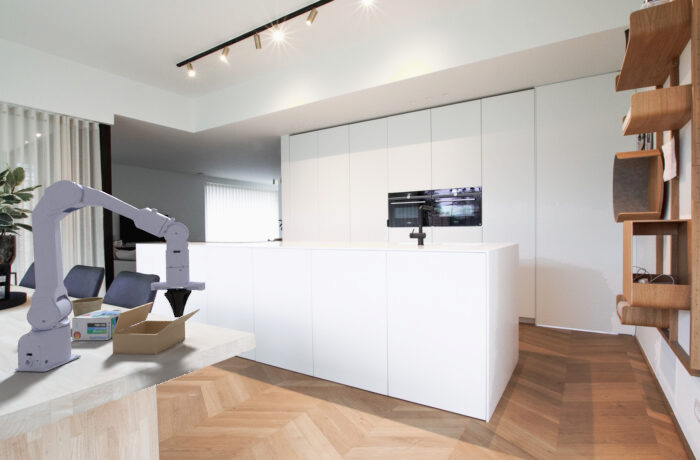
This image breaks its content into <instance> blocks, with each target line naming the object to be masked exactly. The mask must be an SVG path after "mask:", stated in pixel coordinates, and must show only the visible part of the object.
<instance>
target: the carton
mask: <svg viewBox="0 0 700 460" xmlns="http://www.w3.org/2000/svg"><path fill="white" fill-rule="evenodd" d="M172 321H173V320H147V319H146V320H145V321H143V322H140V323H138V324H135V325H133V326H130V327H129V328H126V329H124V330H121V331H119V332H116V333H114V334H112V336H113V337H112V354H130V355H131V354H133V355H136V354H137V355H158V354H160V353H161V352H163V351H165V350H166V349H168V348H170V347H172V346H174V345H175V344H177V343H179V342H182V341H183V340H185V339H186V321H185V322H183V323H181V324H179V325H177V326H175V327H173V328H171V329H169V330H167V331H165V332H163V333H161V334H158V333H159V332H160V331H161V330H163V329H164V328H165V327H166V326H167V325H169V324H170V323H171V322H172ZM157 334H158V335H157Z"/></svg>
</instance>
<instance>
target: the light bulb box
mask: <svg viewBox="0 0 700 460" xmlns="http://www.w3.org/2000/svg"><path fill="white" fill-rule="evenodd" d="M127 310H128V309H101V310H97V311H94V312H91V313H87V314H84V315H81V316H77V317H74V316H73V317H72V318H71V341H108V340H110V339H113V336H112V334H114V333H113V330H114V328H115V325H116V323H117V320H118V318H119V316H120V313H121V312H124V311H127ZM128 328H129V327H128ZM125 329H126V328H125ZM122 330H124V329H122ZM120 331H121V330H120ZM117 332H119V331H117ZM115 333H116V332H115Z"/></svg>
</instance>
